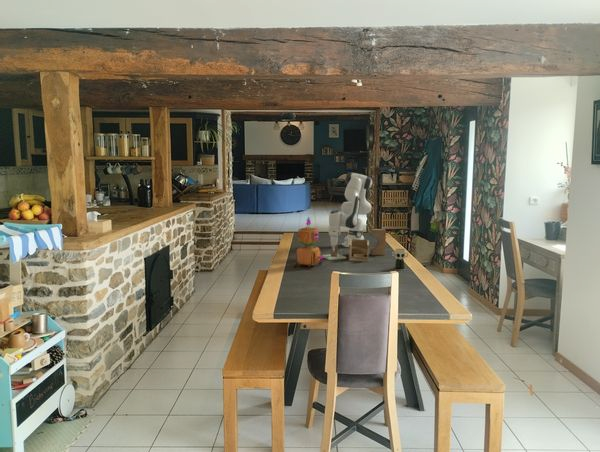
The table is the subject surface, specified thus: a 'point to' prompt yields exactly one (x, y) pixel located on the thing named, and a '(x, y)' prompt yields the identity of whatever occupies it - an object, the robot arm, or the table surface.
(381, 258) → the table surface
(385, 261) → the table surface
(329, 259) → the sage board
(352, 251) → the oak cubby
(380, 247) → the decorative block
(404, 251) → the character mug
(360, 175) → the robot arm
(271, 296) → the table surface
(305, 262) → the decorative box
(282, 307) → the table surface
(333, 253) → the walnut block
